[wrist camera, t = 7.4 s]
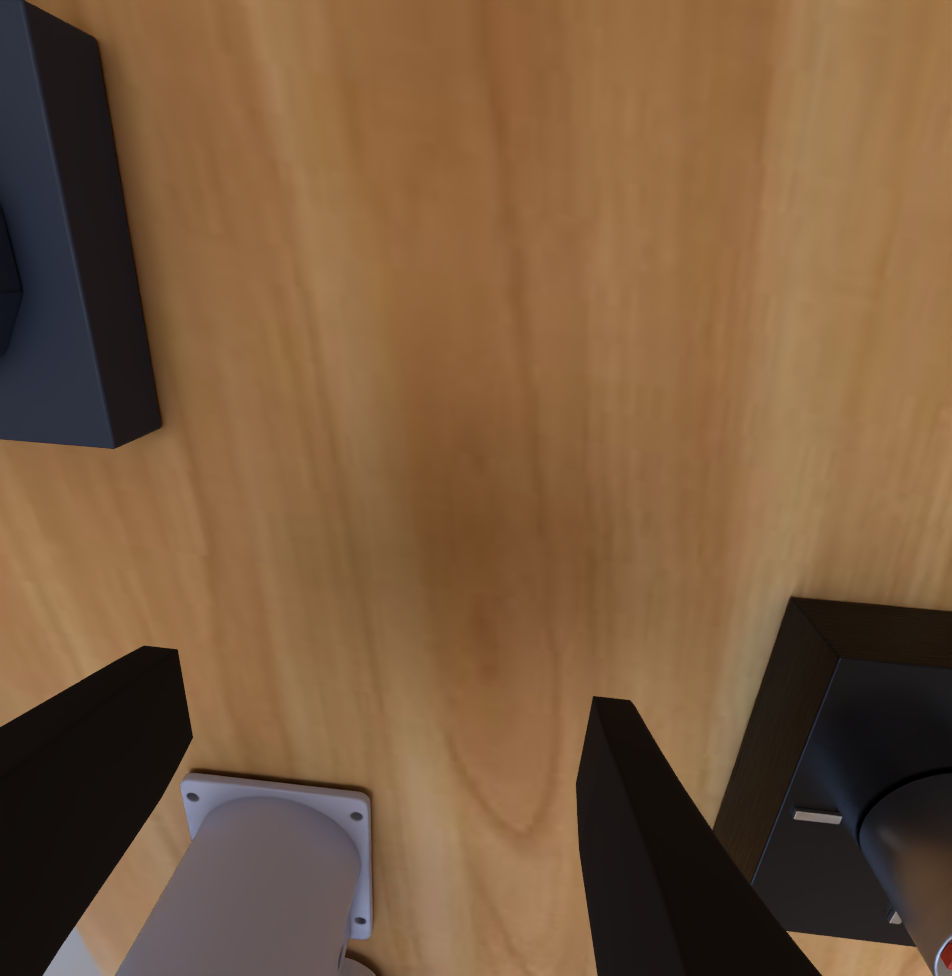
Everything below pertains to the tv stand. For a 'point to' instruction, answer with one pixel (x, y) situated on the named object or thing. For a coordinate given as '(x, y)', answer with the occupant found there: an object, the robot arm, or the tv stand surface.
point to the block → (64, 248)
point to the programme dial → (916, 862)
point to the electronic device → (354, 969)
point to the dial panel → (836, 759)
